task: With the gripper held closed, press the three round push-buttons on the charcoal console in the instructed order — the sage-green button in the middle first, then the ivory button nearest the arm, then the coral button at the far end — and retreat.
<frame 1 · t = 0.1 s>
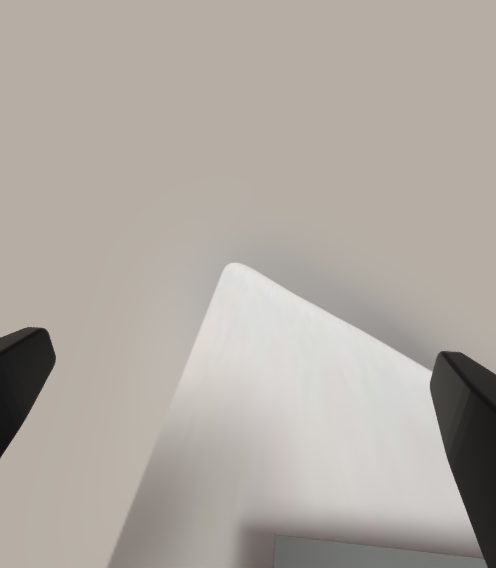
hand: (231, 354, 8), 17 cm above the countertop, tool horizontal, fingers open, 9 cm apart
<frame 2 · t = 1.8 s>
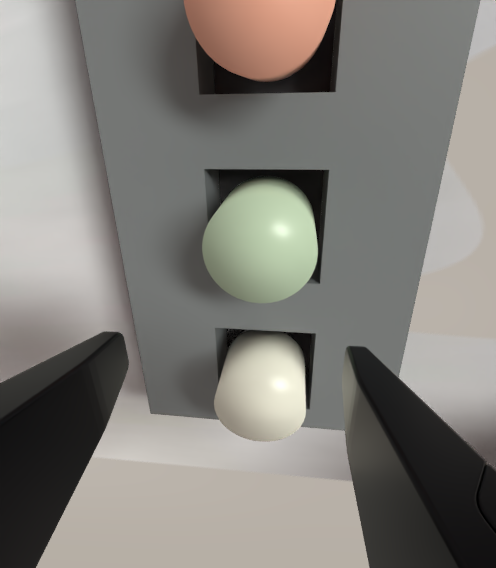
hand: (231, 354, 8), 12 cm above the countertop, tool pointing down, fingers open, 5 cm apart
sage button: (263, 236, 16), point 4 cm above the countertop, slide at 0.0 cm
console: (269, 211, 19), on the countertop
coral button: (263, 2, 12), point 4 cm above the countertop, slide at 0.0 cm
ivory button: (262, 383, 19), point 4 cm above the countertop, slide at 0.0 cm
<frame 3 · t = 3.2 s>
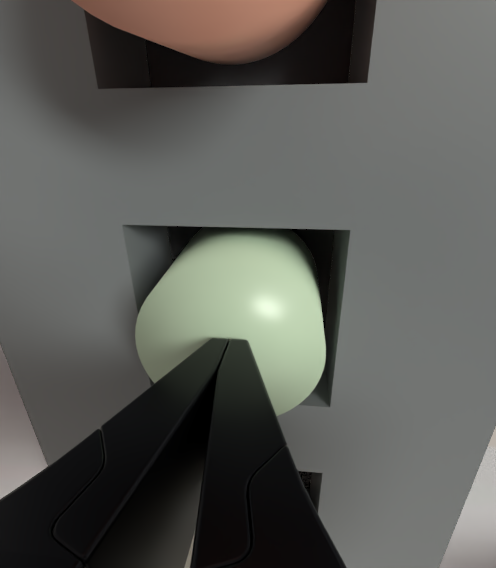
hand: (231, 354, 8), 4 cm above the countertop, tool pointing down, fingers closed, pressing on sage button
sage button: (239, 311, 10), point 2 cm above the countertop, slide at 1.6 cm, touching gripper
console: (249, 274, 12), on the countertop
ivory button: (238, 544, 12), point 4 cm above the countertop, slide at 0.0 cm
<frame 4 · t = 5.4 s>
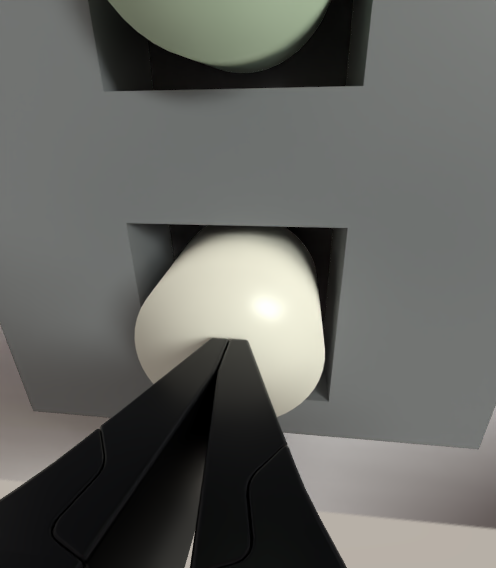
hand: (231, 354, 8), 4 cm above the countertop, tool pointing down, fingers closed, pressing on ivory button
ivory button: (238, 313, 10), point 3 cm above the countertop, slide at 1.4 cm, touching gripper
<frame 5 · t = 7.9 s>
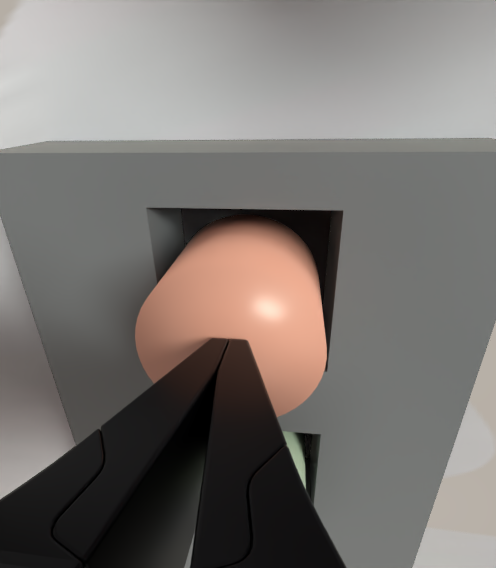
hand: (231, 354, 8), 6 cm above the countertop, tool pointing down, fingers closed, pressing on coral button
sage button: (251, 457, 15), point 2 cm above the countertop, slide at 1.8 cm
console: (256, 416, 17), on the countertop
coral button: (239, 312, 10), point 4 cm above the countertop, slide at 0.1 cm, touching gripper
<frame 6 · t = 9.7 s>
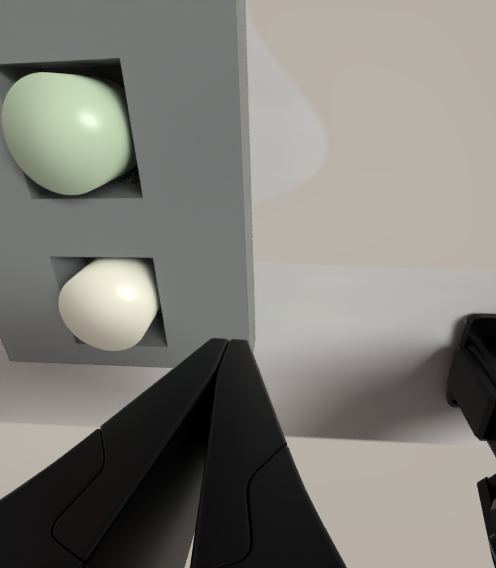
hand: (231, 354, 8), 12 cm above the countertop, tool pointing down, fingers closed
sage button: (81, 133, 16), point 2 cm above the countertop, slide at 1.8 cm
console: (104, 128, 18), on the countertop
ivory button: (118, 296, 19), point 2 cm above the countertop, slide at 1.8 cm
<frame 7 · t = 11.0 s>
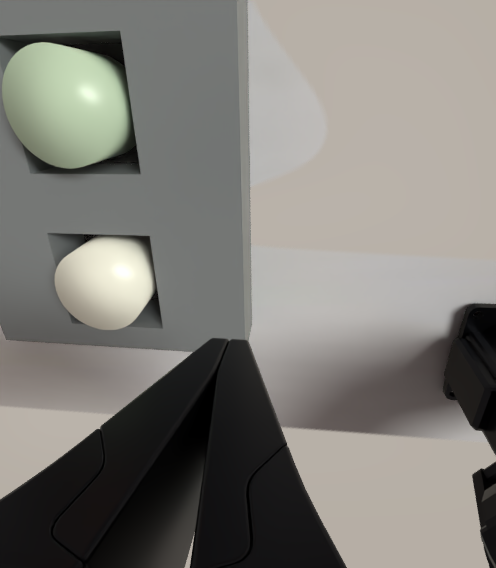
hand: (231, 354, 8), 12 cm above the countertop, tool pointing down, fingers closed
sage button: (81, 108, 16), point 2 cm above the countertop, slide at 1.8 cm
console: (105, 107, 18), on the countertop
ivory button: (114, 276, 19), point 2 cm above the countertop, slide at 1.8 cm
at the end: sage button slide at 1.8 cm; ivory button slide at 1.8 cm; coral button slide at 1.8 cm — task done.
